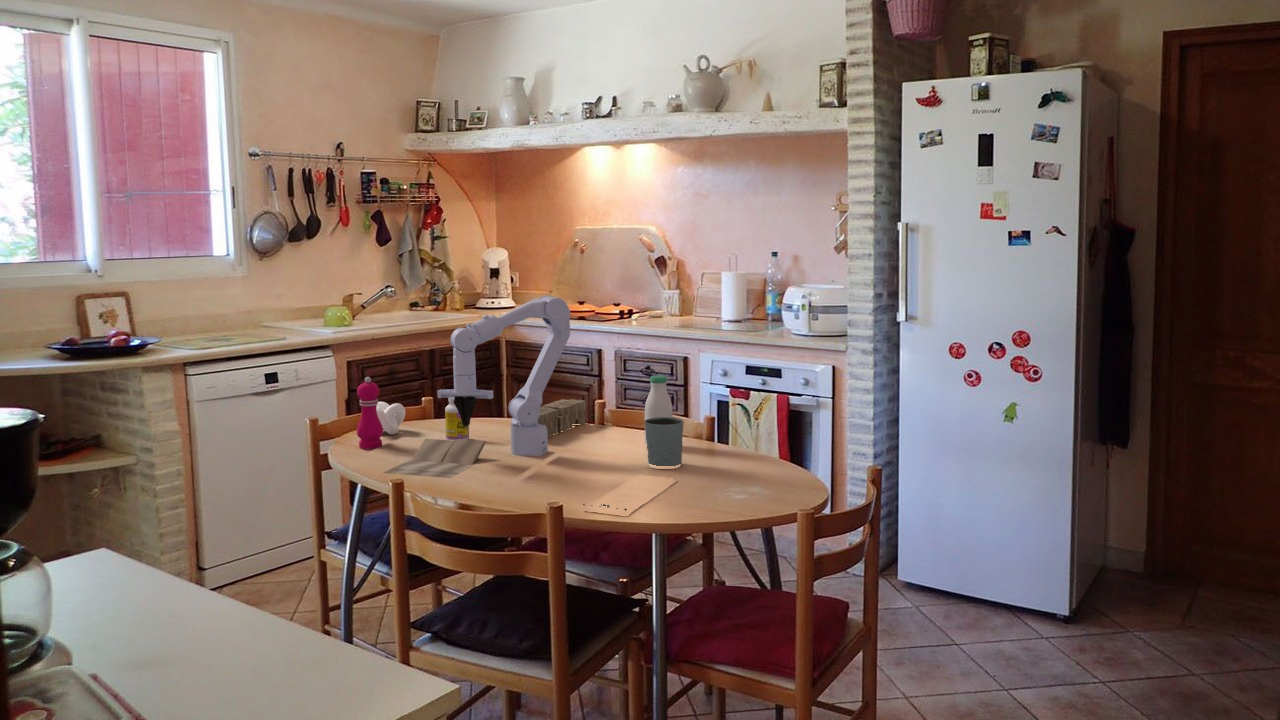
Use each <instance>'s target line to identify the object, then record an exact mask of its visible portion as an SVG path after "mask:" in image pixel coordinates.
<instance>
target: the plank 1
mask: <svg viewBox="0 0 1280 720" xmlns="http://www.w3.org/2000/svg"><path fill="white" fill-rule="evenodd" d="M453 442H454V440H446V439H435V438H425V439H424V440H423V441H422V443H421V444H420V446H419V448H418V449H417V451H416V452H415V454H414V455H413V457H411V460H413V461H427V462H440V463H442V462H443V460H444V458H445V456H446V455H447V453H448V451H449V449H450V447H451V446H452V444H453Z"/></svg>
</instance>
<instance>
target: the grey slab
mask: <svg viewBox="0 0 1280 720" xmlns="http://www.w3.org/2000/svg"><path fill="white" fill-rule="evenodd" d="M473 466H474V464H472V465H469V464H456V463H442V462H429V461H415V460H412V459H408V460H406V461H404V462H402V463H400V464H398V465H395V466H394V467H392V468H390V469H388V470H385V471H383V474H392V475H393V474H395V475H408V476H409V475H410V476H422V477H434V478H446V479H451V478H453V477H454V476H456V475H458V474H460V473H462V472H464V471H465V470H468V468H471V467H473Z"/></svg>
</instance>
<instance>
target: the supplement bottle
mask: <svg viewBox="0 0 1280 720" xmlns="http://www.w3.org/2000/svg"><path fill="white" fill-rule="evenodd" d="M447 399H448V405H447V406H446V407H445V408H444V409H445V410H444V411H445V413H444V415H445V416H444V417H445V440H453V441H454V440H455V439H464V440H470V425H468V426H463V425H462V420H461V417H460V414H459V412H458V410H457V408H456V406H455V404H454V402H453V401H454V399H455V398H447Z"/></svg>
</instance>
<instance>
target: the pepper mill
mask: <svg viewBox="0 0 1280 720" xmlns="http://www.w3.org/2000/svg"><path fill="white" fill-rule="evenodd" d="M356 393H357V396H358V398H359V406H361V415H360V419H359V422H358V424H357V428H356V435H357V437H358V438H359V439H360V440H359V442H358V447H359V449H361V448H362V450H377V449H379V448H381V447H383V440H382V439H381V437H382V436H383V435H384V430H383V427H382V424H381V422H380V420H379V418H378V415H377V410H376V407H377V404H378V402H379V399H378V396H379V395H380V388H379V386H378V385H377V384H376V383H375V382H372V379H371V377H370V376H366V377H365V378H364V382H363V383H361V384H360V385H358V387H357V388H356ZM376 448H377V449H376Z"/></svg>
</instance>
